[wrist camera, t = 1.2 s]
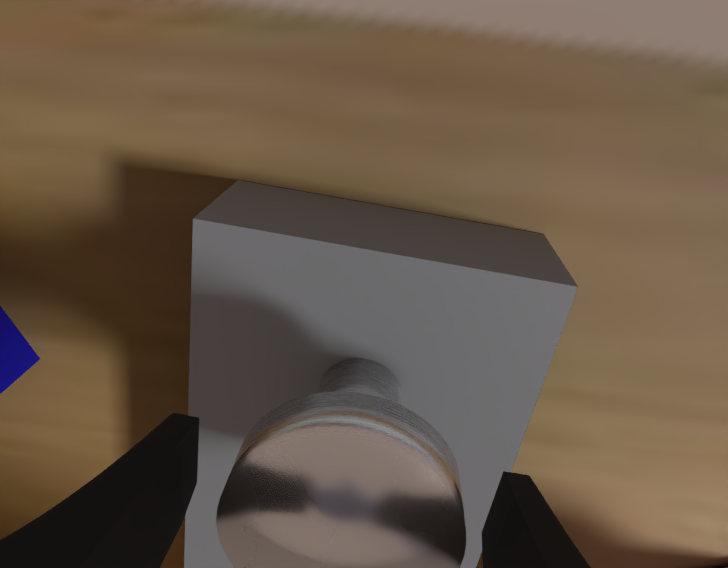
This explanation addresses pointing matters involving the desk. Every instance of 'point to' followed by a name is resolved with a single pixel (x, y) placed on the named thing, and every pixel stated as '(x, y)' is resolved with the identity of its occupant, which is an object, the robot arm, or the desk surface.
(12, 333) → the cable clip
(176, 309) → the desk surface
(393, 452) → the headed pin
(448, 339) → the grey flat block
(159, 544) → the robot arm
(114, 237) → the desk surface
